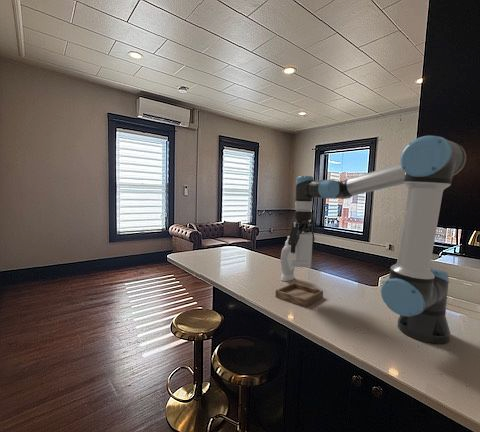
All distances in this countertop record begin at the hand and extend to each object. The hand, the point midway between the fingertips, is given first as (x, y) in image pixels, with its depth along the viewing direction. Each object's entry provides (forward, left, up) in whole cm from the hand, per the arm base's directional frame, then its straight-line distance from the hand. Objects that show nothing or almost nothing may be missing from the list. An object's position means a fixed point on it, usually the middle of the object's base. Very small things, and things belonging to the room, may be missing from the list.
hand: (301, 257), depth 120 cm
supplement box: (0, 0, -4) cm, 4 cm away
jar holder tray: (0, 0, -18) cm, 18 cm away
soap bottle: (+17, -18, -19) cm, 31 cm away
